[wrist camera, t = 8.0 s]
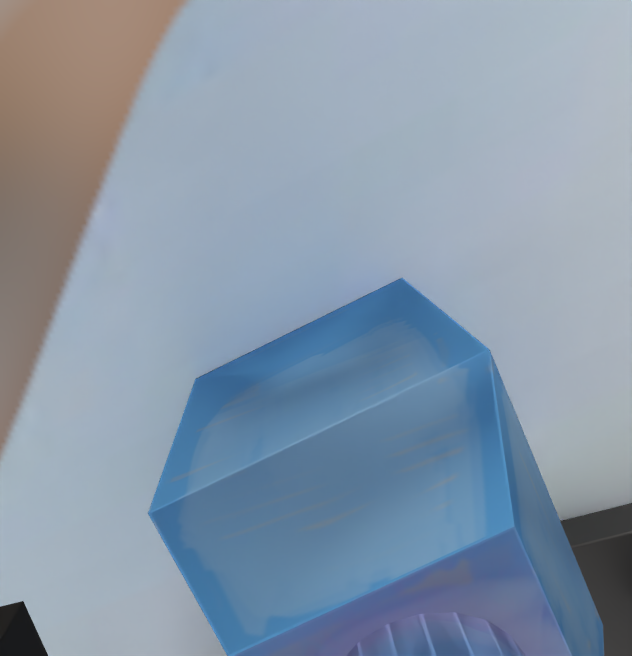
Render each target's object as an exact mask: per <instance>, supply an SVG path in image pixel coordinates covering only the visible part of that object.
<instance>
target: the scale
mask: <svg viewBox="0 0 632 656" xmlns="http://www.w3.org/2000/svg"><path fill="white" fill-rule="evenodd" d="M560 522H561V524H562V527H563V529H564V532H565V534H566V536H567V539H568V541H569V544H570V546H571V549H572V551H573V553H574V556H575V558H576V561H577V563H578V566H579V568H580V570H581V573H582V575H583V578H584V580H585V582H586V585H587V587H588V590H589V592H590V595H591V597H592V599H593V602H594V604H595V607H596V609H597V612H598V614H599V616H600V619H601V621H602V624H603V639H604V656H632V503H631V504H627V505H623V506H619V507H615V508H611V509H607V510H603V511H599V512H595V513H592V514H588V515H584V516H580V517H576V518H572V519H568V520H564V521H560Z"/></svg>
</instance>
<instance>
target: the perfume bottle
mask: <svg viewBox="0 0 632 656" xmlns="http://www.w3.org/2000/svg"><path fill="white" fill-rule="evenodd" d="M148 514H149V516H150V518H151V520H152V521H153V523H154V525H155V527H156V529H157V530H158V532H159V534H160V536H161V538H162V539H163V541H164V543H165V545H166V546H167V548H168V550H169V552H170V554H171V555H172V557H173V559H174V561H175V563H176V564H177V566H178V568H179V570H180V572H181V573H182V575H183V577H184V579H185V581H186V582H187V584H188V586H189V588H190V589H191V591H192V593H193V595H194V597H195V598H196V600H197V602H198V604H199V606H200V607H201V609H202V611H203V613H204V615H205V616H206V618H207V620H208V622H209V624H210V625H211V627H212V629H213V631H214V632H215V634H216V636H217V638H218V640H219V641H220V643H221V645H222V647H223V649H224V650H225V652H226V654H227V656H604V639H603V624H602V621H601V619H600V616H599V614H598V612H597V609H596V607H595V604H594V602H593V599H592V597H591V595H590V592H589V590H588V587H587V585H586V582H585V580H584V578H583V575H582V573H581V570H580V568H579V566H578V563H577V561H576V558H575V556H574V553H573V551H572V549H571V546H570V544H569V541H568V539H567V536H566V534H565V532H564V529H563V527H562V524H561V522H560V519H559V517H558V515H557V512H556V510H555V507H554V505H553V502H552V500H551V498H550V495H549V493H548V490H547V488H546V485H545V483H544V481H543V478H542V476H541V473H540V471H539V469H538V466H537V464H536V461H535V459H534V456H533V454H532V452H531V449H530V447H529V444H528V442H527V439H526V437H525V435H524V432H523V430H522V427H521V425H520V422H519V420H518V418H517V415H516V413H515V410H514V408H513V405H512V403H511V401H510V398H509V396H508V393H507V391H506V388H505V386H504V384H503V381H502V379H501V376H500V374H499V372H498V369H497V367H496V364H495V362H494V359H493V357H492V355H491V352H490V350H489V349H488V348H487V347H486V346H484V345H483V344H482V343H481V342H479V341H478V340H477V339H476V338H475V337H473V336H472V335H471V334H470V333H469V332H467V331H466V330H465V329H464V328H462V327H461V326H460V325H459V324H458V323H456V322H455V321H454V320H453V319H452V318H450V317H449V316H448V315H447V314H445V313H444V312H443V311H442V310H441V309H439V308H438V307H437V306H436V305H435V304H433V303H432V302H431V301H430V300H429V299H427V298H426V297H425V296H424V295H422V294H421V293H420V292H419V291H418V290H416V289H415V288H414V287H413V286H412V285H410V284H409V283H408V282H407V281H405V280H404V279H403V278H401V279H399V280H397V281H395V282H392V283H390V284H388V285H386V286H384V287H382V288H380V289H378V290H376V291H374V292H372V293H370V294H368V295H366V296H364V297H362V298H360V299H358V300H356V301H354V302H352V303H350V304H348V305H346V306H343V307H341V308H339V309H337V310H335V311H333V312H331V313H329V314H327V315H325V316H323V317H321V318H319V319H317V320H315V321H313V322H311V323H309V324H307V325H305V326H303V327H301V328H299V329H297V330H295V331H292V332H290V333H288V334H286V335H284V336H282V337H280V338H278V339H276V340H274V341H272V342H270V343H268V344H266V345H264V346H262V347H260V348H258V349H256V350H254V351H252V352H250V353H248V354H246V355H243V356H241V357H239V358H237V359H235V360H233V361H231V362H229V363H227V364H225V365H223V366H221V367H219V368H217V369H215V370H213V371H211V372H209V373H207V374H205V375H203V376H201V377H199V378H197V379H195V382H194V385H193V388H192V391H191V393H190V396H189V399H188V402H187V405H186V407H185V410H184V413H183V416H182V419H181V422H180V424H179V427H178V430H177V433H176V436H175V438H174V441H173V444H172V447H171V450H170V453H169V455H168V458H167V461H166V464H165V467H164V470H163V472H162V475H161V478H160V481H159V484H158V486H157V489H156V492H155V495H154V498H153V501H152V503H151V506H150V509H149V512H148Z"/></svg>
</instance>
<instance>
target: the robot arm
mask: <svg viewBox="0 0 632 656" xmlns="http://www.w3.org/2000/svg"><path fill="white" fill-rule="evenodd" d="M0 656H48V655H47V652H46V650H45V648H44V646H43V644H42V641H41V639H40V637H39V635H38V633H37V630H36V628H35V626H34V624H33V622H32V620H31V617H30V615H29V613H28V611H27V609H26V606H25V604H24V602H23V601H22V602H18V603H14V604H10V605H6V606H2V607H0Z"/></svg>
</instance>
